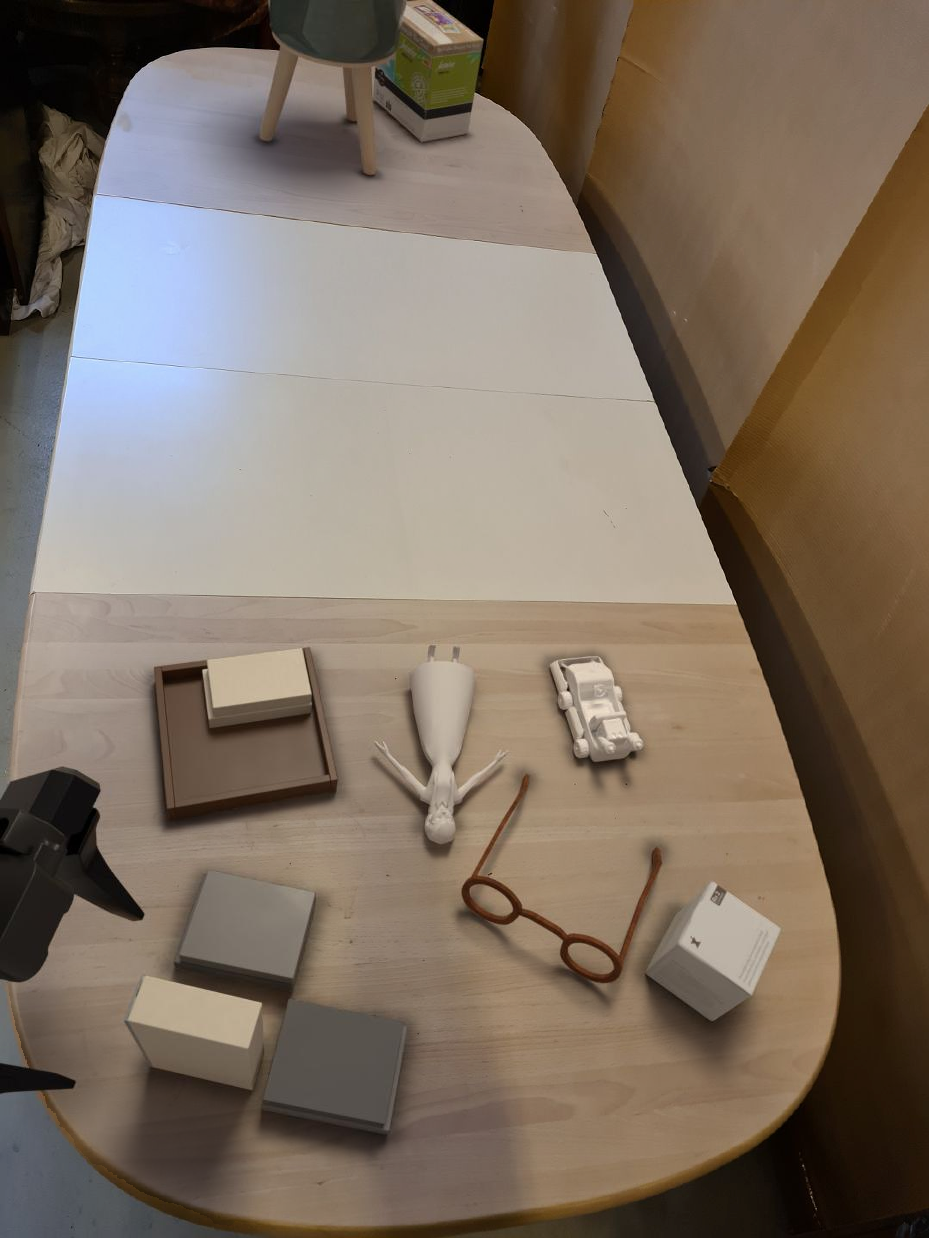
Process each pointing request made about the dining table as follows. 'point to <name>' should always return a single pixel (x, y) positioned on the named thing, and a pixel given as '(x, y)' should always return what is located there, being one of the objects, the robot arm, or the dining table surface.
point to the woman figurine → (441, 737)
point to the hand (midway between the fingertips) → (107, 996)
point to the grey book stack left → (246, 931)
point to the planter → (335, 54)
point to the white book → (197, 1031)
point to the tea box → (430, 73)
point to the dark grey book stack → (336, 1067)
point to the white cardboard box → (714, 952)
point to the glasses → (547, 924)
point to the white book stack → (256, 687)
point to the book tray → (236, 749)
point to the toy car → (594, 709)
